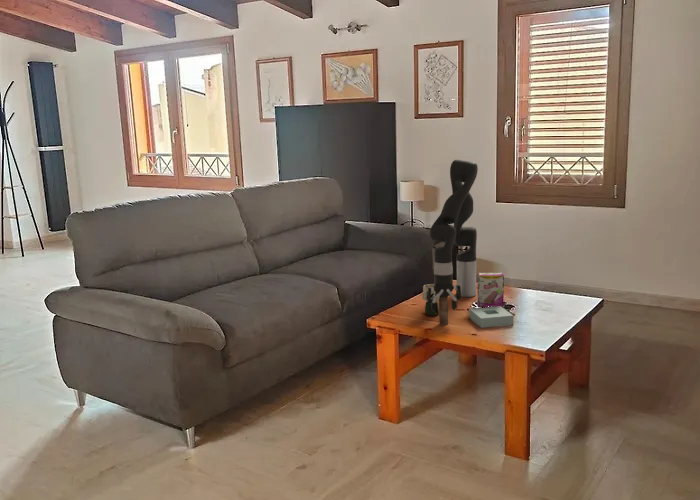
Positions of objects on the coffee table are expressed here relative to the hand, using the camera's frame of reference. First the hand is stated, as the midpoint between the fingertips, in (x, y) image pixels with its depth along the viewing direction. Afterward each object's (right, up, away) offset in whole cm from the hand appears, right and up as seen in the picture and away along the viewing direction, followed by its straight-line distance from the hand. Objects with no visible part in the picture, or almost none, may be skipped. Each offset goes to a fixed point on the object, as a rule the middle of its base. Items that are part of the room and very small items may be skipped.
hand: (443, 310), depth 272 cm
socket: (+20, -5, +3) cm, 21 cm away
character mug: (-3, -4, +15) cm, 16 cm away
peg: (0, -6, +1) cm, 6 cm away
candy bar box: (+24, -2, +19) cm, 30 cm away
